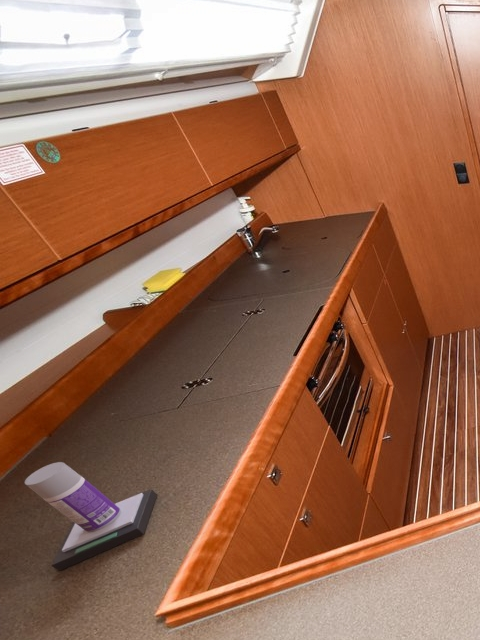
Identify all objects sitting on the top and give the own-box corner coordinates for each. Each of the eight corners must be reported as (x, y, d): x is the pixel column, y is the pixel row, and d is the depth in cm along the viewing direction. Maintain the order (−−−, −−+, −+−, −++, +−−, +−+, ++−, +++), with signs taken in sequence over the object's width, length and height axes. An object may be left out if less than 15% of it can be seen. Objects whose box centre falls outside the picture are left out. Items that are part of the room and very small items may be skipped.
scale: (59, 571, 74) (48, 564, 73) (81, 526, 81) (71, 518, 80) (144, 534, 79) (135, 526, 78) (158, 494, 86) (149, 487, 85)
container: (122, 503, 82) (67, 456, 74) (120, 519, 79) (62, 473, 72) (87, 519, 79) (26, 473, 72) (83, 537, 76) (19, 491, 69)
